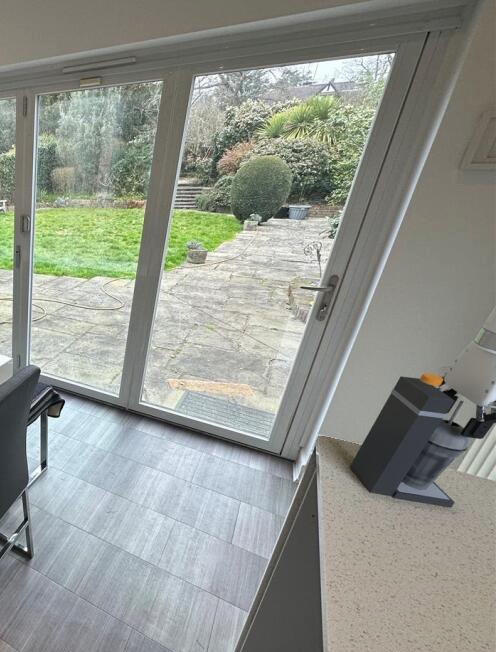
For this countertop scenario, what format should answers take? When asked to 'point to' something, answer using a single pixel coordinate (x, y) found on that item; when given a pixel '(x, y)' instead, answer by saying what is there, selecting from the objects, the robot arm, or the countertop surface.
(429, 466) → the beverage cup
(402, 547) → the countertop surface
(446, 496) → the espresso machine
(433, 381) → the brew button
